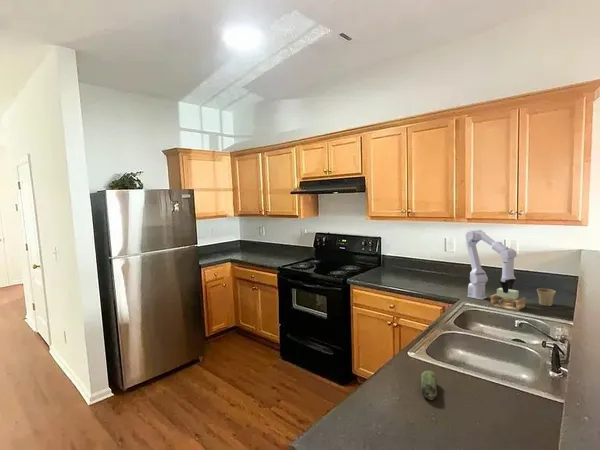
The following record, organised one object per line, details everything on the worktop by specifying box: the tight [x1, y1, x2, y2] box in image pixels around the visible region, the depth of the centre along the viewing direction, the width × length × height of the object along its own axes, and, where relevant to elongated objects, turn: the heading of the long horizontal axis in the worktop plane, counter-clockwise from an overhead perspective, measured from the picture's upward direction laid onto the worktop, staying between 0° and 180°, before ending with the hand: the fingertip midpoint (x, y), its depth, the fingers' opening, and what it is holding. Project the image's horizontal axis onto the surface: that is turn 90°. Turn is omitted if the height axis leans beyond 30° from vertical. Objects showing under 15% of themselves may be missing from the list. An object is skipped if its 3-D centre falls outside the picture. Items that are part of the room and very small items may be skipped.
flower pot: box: [536, 288, 557, 307], centre depth 205 cm, size 9×9×9 cm
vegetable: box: [420, 369, 438, 401], centre depth 116 cm, size 14×5×5 cm, turn 159°
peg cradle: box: [490, 292, 526, 312], centre depth 204 cm, size 15×11×6 cm
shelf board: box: [496, 287, 520, 300], centre depth 203 cm, size 10×5×4 cm, turn 39°
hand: (507, 291), depth 203 cm, fingers closed on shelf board, 5 cm apart
